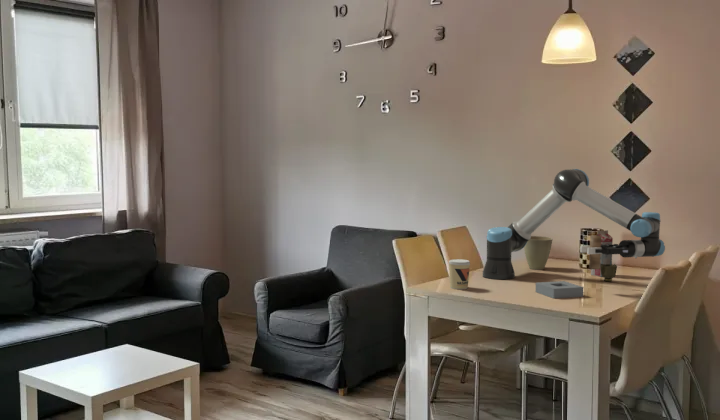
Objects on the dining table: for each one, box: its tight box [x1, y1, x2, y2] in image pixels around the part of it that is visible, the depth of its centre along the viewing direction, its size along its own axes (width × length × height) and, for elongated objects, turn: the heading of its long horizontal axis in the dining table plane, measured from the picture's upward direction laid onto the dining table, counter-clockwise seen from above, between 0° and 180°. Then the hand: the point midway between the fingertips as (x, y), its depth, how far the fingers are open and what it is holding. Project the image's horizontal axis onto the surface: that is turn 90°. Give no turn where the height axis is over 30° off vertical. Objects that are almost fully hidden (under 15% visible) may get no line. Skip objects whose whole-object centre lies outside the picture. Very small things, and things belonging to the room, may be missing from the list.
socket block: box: [535, 280, 584, 299], centre depth 294 cm, size 14×14×4 cm
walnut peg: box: [588, 234, 601, 270], centre depth 298 cm, size 4×4×14 cm
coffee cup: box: [448, 258, 471, 290], centre depth 307 cm, size 9×9×12 cm
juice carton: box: [590, 230, 614, 278], centre depth 340 cm, size 7×7×22 cm
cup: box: [600, 263, 618, 283], centre depth 325 cm, size 8×7×8 cm
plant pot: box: [523, 235, 553, 270], centre depth 360 cm, size 15×15×16 cm
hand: (584, 250), depth 296 cm, fingers closed on walnut peg, 4 cm apart
